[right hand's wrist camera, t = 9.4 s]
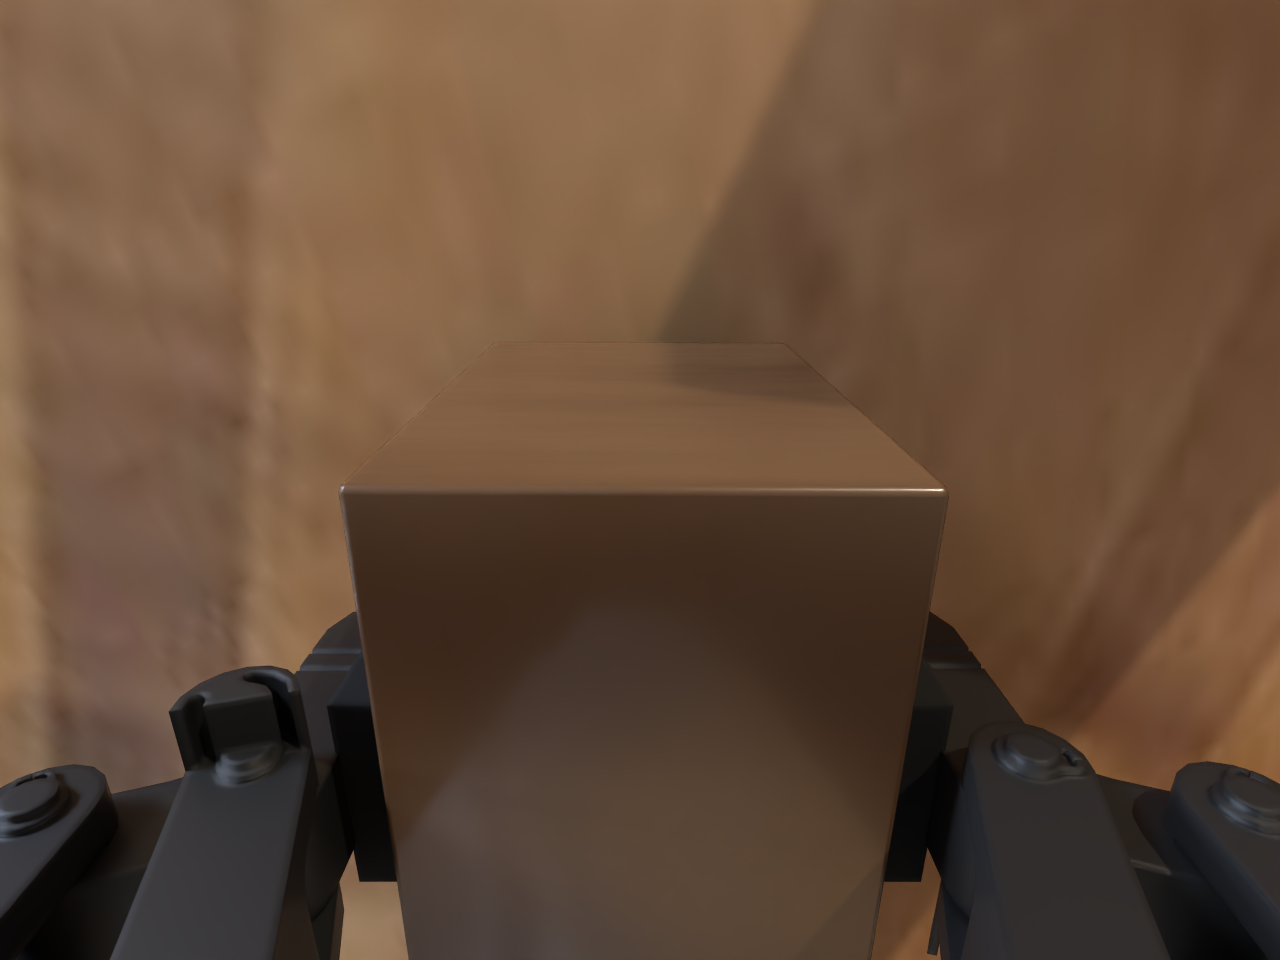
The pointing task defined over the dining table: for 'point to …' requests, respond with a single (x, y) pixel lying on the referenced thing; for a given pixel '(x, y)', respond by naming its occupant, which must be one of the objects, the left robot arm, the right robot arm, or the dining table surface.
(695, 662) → the beam
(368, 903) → the dining table surface
